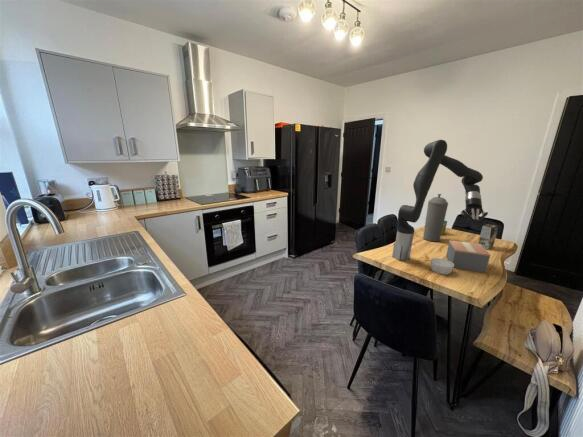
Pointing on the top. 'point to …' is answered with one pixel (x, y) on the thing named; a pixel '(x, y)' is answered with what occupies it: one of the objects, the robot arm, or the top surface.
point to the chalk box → (444, 228)
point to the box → (467, 260)
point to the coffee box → (488, 236)
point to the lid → (469, 248)
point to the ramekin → (441, 266)
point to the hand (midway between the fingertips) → (475, 226)
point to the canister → (435, 218)
